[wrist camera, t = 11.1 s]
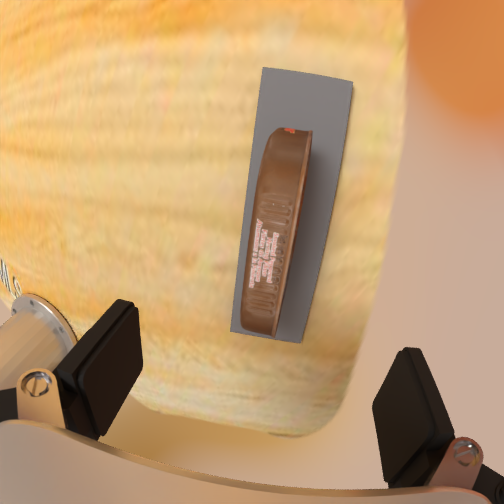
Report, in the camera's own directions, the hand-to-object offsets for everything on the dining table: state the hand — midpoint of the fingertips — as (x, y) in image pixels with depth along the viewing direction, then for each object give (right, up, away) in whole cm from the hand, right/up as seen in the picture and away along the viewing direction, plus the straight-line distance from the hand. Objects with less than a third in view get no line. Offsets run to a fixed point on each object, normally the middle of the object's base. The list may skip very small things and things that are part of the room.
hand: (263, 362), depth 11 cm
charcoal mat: (+2, +7, +16) cm, 18 cm away
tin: (+2, +6, +16) cm, 17 cm away
